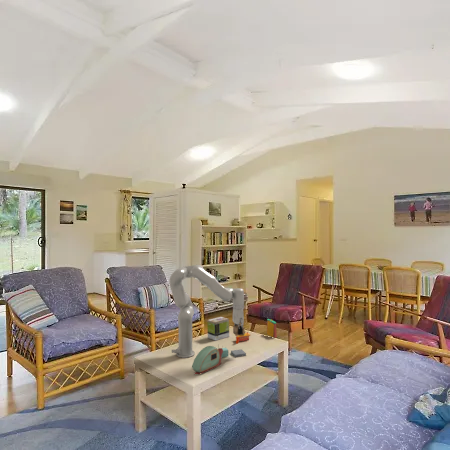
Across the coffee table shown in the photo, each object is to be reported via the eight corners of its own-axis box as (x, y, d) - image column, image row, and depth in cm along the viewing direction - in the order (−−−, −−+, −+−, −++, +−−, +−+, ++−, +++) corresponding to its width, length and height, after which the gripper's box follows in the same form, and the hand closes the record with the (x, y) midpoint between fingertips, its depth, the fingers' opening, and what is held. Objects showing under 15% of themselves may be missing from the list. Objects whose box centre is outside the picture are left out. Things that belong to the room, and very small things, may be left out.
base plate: (235, 358, 229) (235, 354, 229) (230, 354, 236) (230, 350, 236) (246, 357, 231) (246, 353, 231) (241, 352, 239) (241, 349, 239)
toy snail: (198, 377, 200) (198, 354, 200) (190, 374, 205) (190, 351, 205) (226, 364, 219) (226, 343, 219) (218, 361, 224) (218, 340, 224)
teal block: (221, 358, 229) (221, 351, 229) (219, 355, 234) (219, 348, 234) (228, 357, 231) (228, 350, 231) (225, 354, 235) (225, 347, 235)
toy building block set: (276, 338, 269) (276, 321, 269) (237, 345, 254) (237, 326, 254) (268, 334, 280) (268, 317, 280) (230, 340, 266) (230, 322, 266)
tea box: (221, 334, 281) (221, 316, 281) (229, 337, 273) (229, 318, 273) (207, 337, 271) (207, 319, 271) (214, 341, 263) (214, 322, 263)
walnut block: (236, 335, 230) (236, 328, 230) (233, 333, 236) (233, 325, 236) (244, 334, 232) (244, 327, 232) (241, 332, 238) (241, 324, 238)
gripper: (229, 304, 241) (229, 329, 241) (237, 310, 224) (238, 337, 224) (238, 303, 243) (239, 328, 243) (248, 309, 227) (248, 336, 227)
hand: (238, 332), depth 234 cm, fingers closed on walnut block, 6 cm apart
